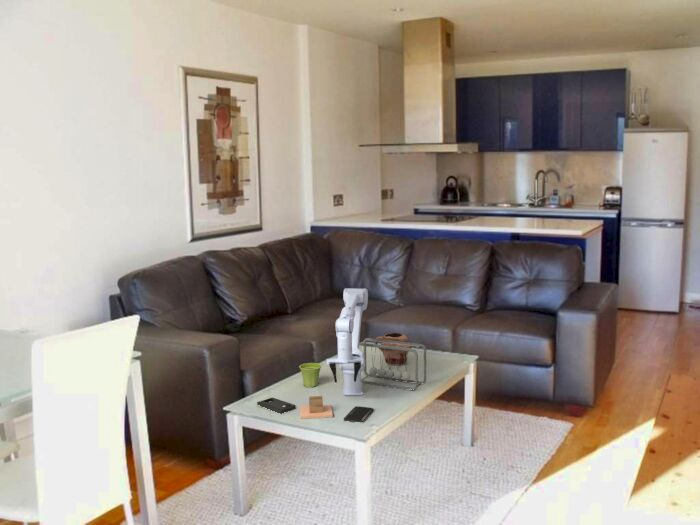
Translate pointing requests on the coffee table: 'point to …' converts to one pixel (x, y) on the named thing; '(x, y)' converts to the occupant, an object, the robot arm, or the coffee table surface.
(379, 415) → the coffee table surface
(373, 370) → the newton's cradle
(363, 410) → the phone
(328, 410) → the terracotta tile
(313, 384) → the plant pot
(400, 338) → the decorative planter
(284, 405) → the vhs tape
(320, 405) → the walnut cube
